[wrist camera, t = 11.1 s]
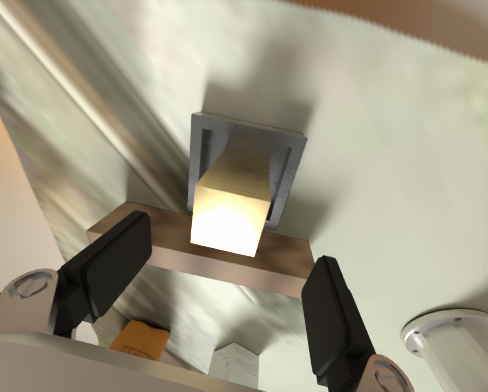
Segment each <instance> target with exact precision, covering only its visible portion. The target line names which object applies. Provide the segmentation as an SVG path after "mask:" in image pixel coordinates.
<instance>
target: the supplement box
mask: <svg viewBox="0 0 488 392" xmlns="http://www.w3.org/2000/svg"><path fill="white" fill-rule="evenodd" d="M258 371H259V356H257V355H256V354H254V353H252V352H251V351H249V350H247V349H246V348H244V347H242V346H240V345H238V344H237V343H235V342H233V343H231V344H229V345H227V346H226V347H223V348H221V349H219V350H217V351H214V352H213V355H212V360H211V364H210V369H209V373H208V376H211V377H215V378H219V379H222V380H226V381H229V382H233V383H237V384H240V385H244V386H247V387H251V388H254V389H258Z"/></svg>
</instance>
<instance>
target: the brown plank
mask: <svg viewBox="0 0 488 392" xmlns="http://www.w3.org/2000/svg"><path fill="white" fill-rule="evenodd" d="M134 210H139V211H143V212H147V214H148V216H150V222H151V239H152V254H151V257H150V258H149V259H148V261H147V262H146V263H145V264H148V265H152V266H157V267H161V268H166V269H170V270H175V271H179V272H184V273H188V274H193V275H197V276H202V277H206V278H211V279H215V280H220V281H224V282H229V283H234V284H238V285H243V286H247V287H252V288H256V289H261V290H265V291H270V292H274V293H279V294H283V295H288V296H292V297H297V298H301V299H302V297H301V291H302V288H303V286H304V284H305V282H306V281H307V279H308V277H309V275H310V273H311V271H312V269H313V267H314V265H315V263H314V259H313V256H312V252H311V249H310V245H309V242H308V241H304V240H299V239H295V238H290V237H286V236H281V235H277V234H272V233H267V232H263V231H262V233H261V236H260V239H259V242H258V245H257V249H256V252H255V255H254V257H253V256H249V255H244V254H240V253H235V252H231V251H227V250H222V249H218V248H213V247H209V246H205V245H200V244H196V243H191V234H192V221H193V216H190V215H185V214H181V213H176V212H171V211H167V210H162V209H158V208H153V207H149V206H144V205H140V204H135V203H130V202H124V203H123V204H122V205H120V206H119V207H118V208H116V209H115V210H114V211H112V212H111V213H110V214H108V215H107V216H105V217H104V218H103V219H101V220H100V221H99V222H97V223H96V224H95V225H93V226H92V227H91V228H89V229H88V230H86V232H87V236H88V239H89V243H90V244H91V243H93V242H94V241H95V240H96V239H98V238H99V237H100V236H102V235H103V234H104V233H105V232H107V231H108V230H109V229H111V228H112V227H113V226H115V225H116V224H117V223H118V222H120V221H121V220H122V219H124V218H125V217H126V216H127V215H129V214H130V213H131V212H133V211H134Z"/></svg>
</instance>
